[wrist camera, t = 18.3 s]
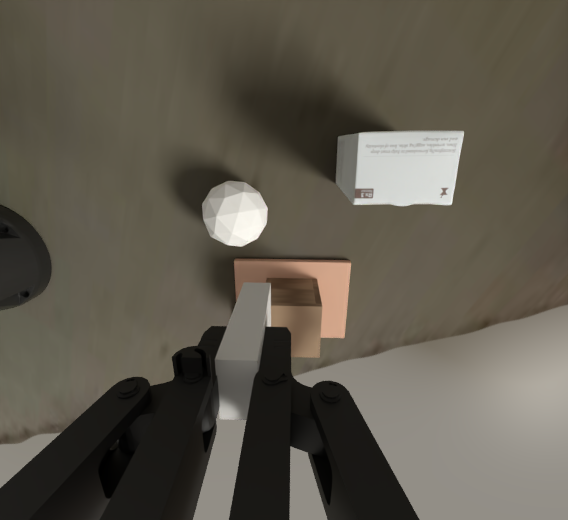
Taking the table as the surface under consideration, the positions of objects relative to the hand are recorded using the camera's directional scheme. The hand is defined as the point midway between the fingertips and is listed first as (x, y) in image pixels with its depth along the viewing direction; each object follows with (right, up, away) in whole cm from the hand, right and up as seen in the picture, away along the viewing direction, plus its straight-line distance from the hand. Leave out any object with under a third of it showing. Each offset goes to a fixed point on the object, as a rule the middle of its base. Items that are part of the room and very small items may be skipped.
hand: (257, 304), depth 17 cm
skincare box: (+12, +15, +21) cm, 28 cm away
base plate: (+3, -3, +27) cm, 27 cm away
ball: (-4, +9, +23) cm, 25 cm away
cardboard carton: (+3, -3, +26) cm, 26 cm away
